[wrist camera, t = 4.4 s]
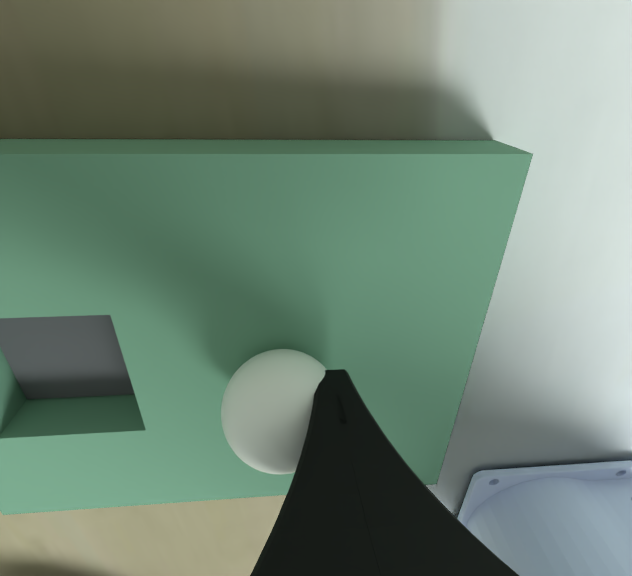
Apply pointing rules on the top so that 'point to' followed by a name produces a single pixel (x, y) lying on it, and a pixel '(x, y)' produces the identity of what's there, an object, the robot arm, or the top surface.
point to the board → (231, 299)
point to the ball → (271, 408)
